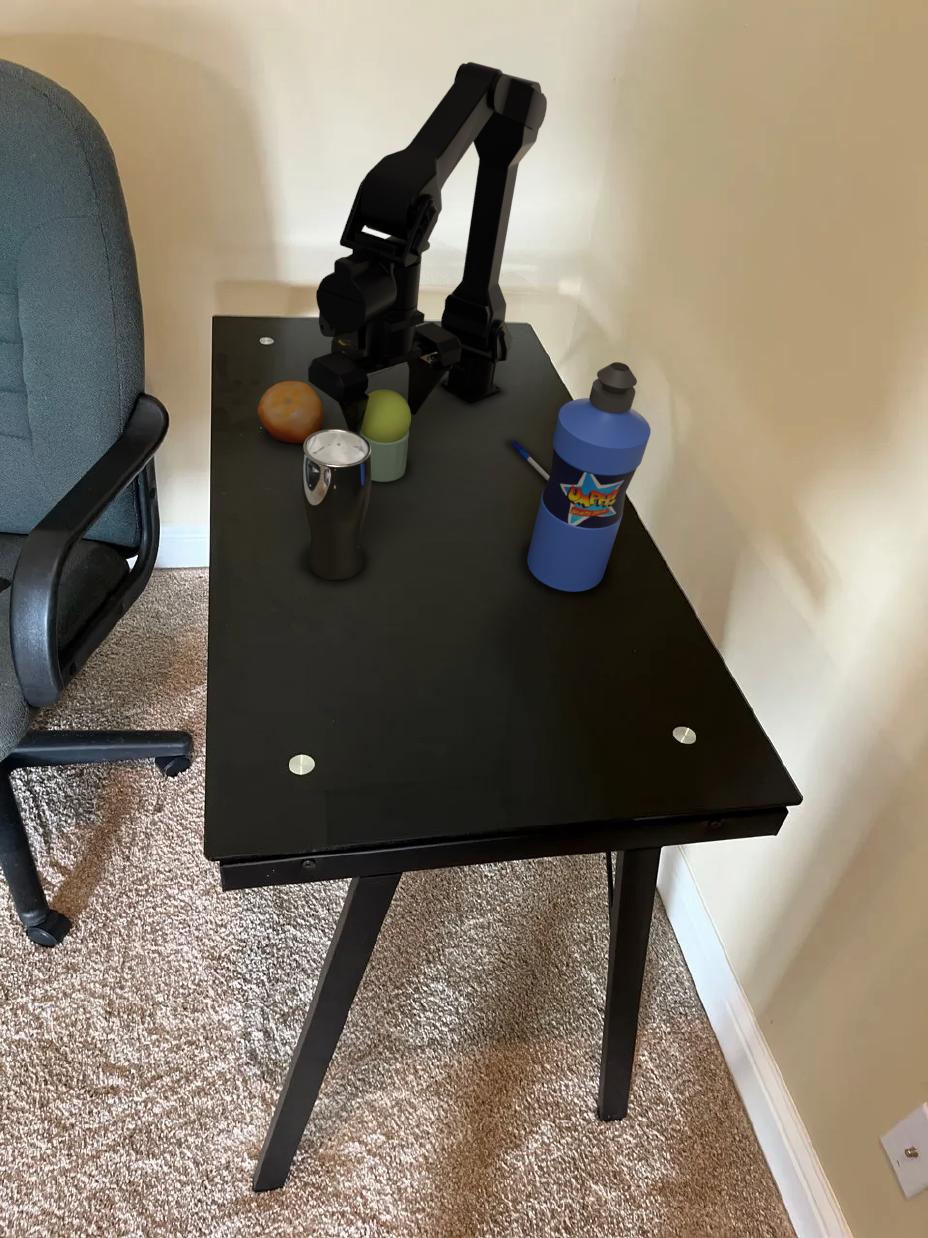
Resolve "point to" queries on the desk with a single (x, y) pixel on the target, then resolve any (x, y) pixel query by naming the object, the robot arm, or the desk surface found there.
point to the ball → (386, 416)
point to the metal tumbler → (336, 500)
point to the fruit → (291, 411)
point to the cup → (388, 458)
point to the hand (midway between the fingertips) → (383, 424)
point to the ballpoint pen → (530, 459)
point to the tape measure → (346, 349)
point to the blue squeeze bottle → (588, 482)
